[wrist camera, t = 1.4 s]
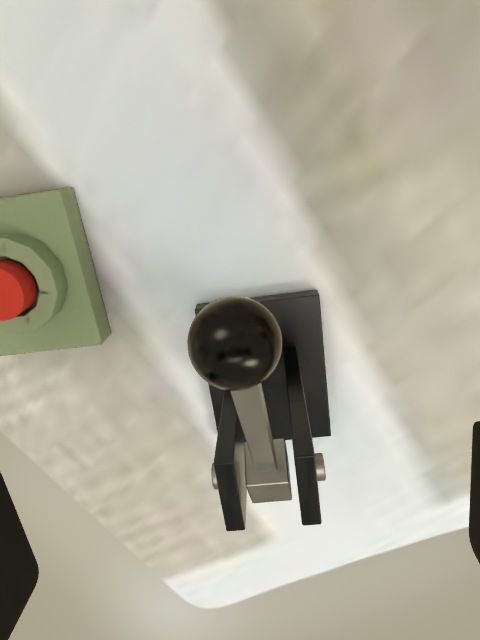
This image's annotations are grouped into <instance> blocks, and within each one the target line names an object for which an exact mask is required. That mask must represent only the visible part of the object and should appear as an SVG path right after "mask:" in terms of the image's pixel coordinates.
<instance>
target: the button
mask: <svg viewBox="0 0 480 640" xmlns="http://www.w3.org/2000/svg"><path fill="white" fill-rule="evenodd" d="M35 297H36V285H35V282H34V279H33V277H32V276H31V274H30V273H29V272H28V271H27V270H26V269H25V268H24V267H23V266H21V265H20V264H18V263H16V262H13V261H9V260H0V321H6V320H10V319H12V318H14V317H16V316H17V315H19V314H20V313H21V312H23V311H24V310H26V309H27V308H28V307H30V306H31V305H32V303H33V302H34V300H35Z"/></svg>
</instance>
